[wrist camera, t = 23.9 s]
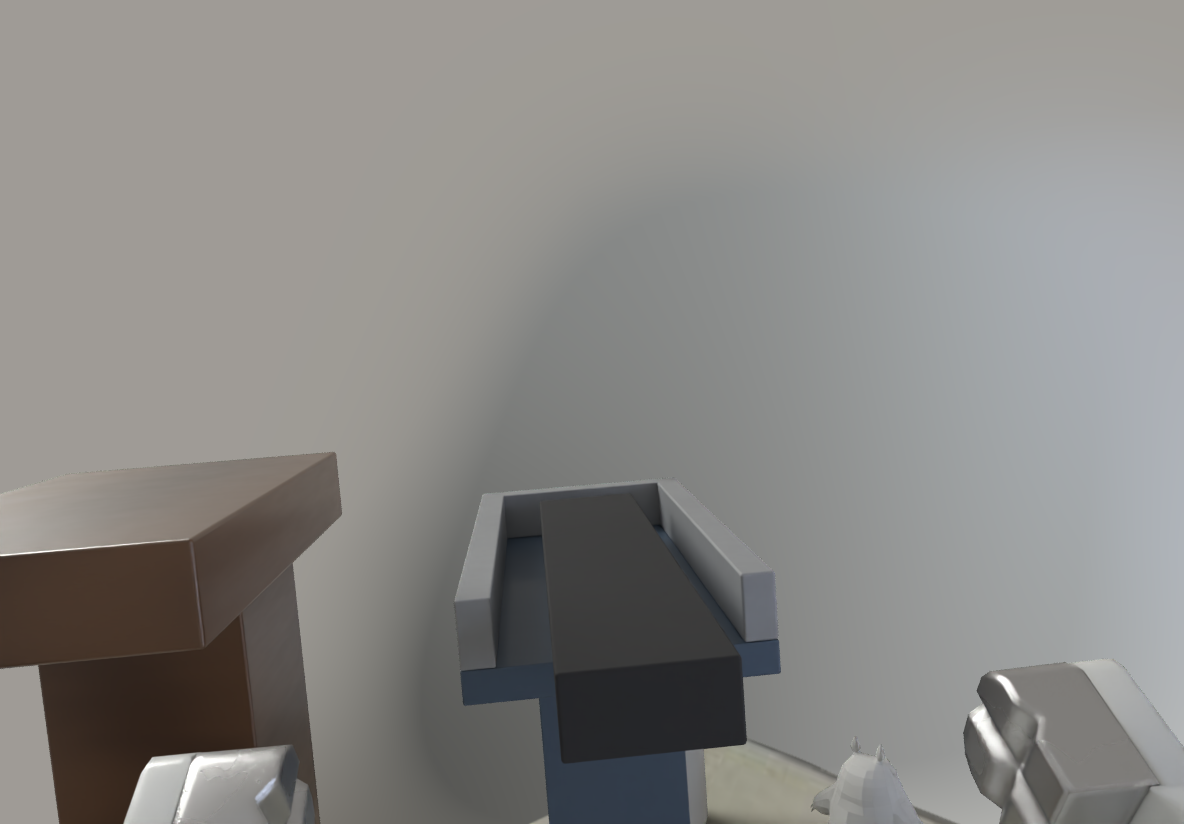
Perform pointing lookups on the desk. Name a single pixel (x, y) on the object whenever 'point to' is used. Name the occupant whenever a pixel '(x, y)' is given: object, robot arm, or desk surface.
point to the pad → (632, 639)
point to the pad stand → (162, 615)
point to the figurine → (866, 793)
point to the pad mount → (523, 643)
